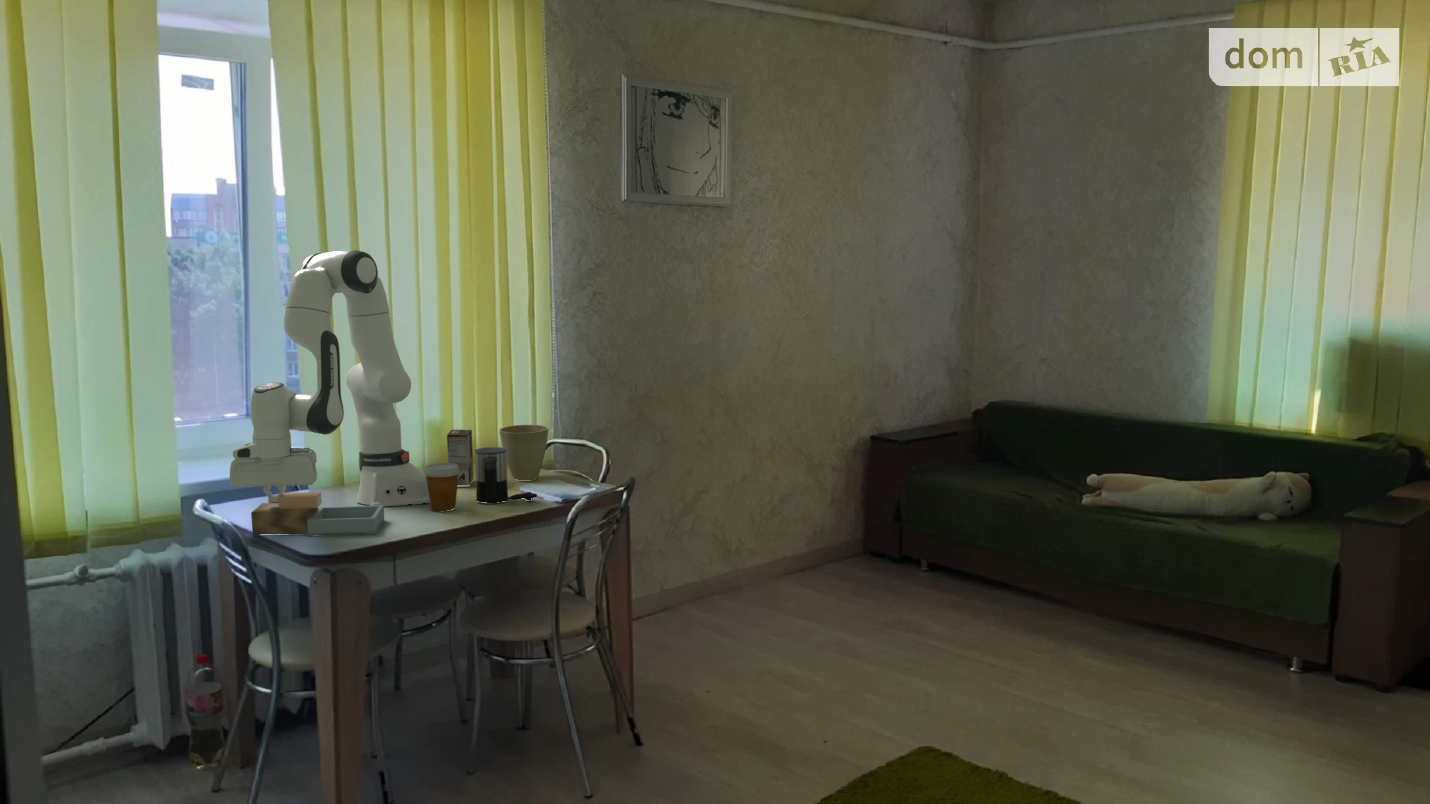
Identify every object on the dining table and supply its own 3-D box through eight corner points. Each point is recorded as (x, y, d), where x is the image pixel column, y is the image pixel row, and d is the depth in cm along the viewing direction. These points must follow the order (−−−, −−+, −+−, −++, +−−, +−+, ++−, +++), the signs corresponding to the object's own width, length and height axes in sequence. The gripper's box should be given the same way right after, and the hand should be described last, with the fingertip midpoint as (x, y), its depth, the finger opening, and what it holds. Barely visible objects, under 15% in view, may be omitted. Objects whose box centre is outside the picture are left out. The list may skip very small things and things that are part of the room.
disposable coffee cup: (467, 506, 292) (465, 463, 291) (451, 514, 283) (449, 470, 282) (435, 504, 295) (434, 462, 293) (418, 512, 285) (417, 468, 284)
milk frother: (472, 499, 301) (470, 448, 299) (526, 493, 308) (524, 443, 306) (485, 510, 288) (483, 456, 286) (540, 504, 296) (539, 451, 293)
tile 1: (303, 504, 269) (302, 492, 269) (298, 508, 264) (297, 496, 264) (284, 504, 268) (283, 493, 268) (279, 509, 263) (278, 497, 263)
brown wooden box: (318, 524, 273) (317, 501, 272) (309, 534, 263) (308, 510, 262) (263, 526, 271) (262, 503, 270) (252, 536, 261) (251, 512, 260)
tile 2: (321, 503, 270) (320, 491, 269) (317, 507, 265) (316, 496, 264) (303, 504, 269) (302, 492, 269) (298, 508, 264) (297, 496, 264)
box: (384, 520, 277) (383, 505, 277) (375, 533, 263) (374, 518, 263) (320, 522, 275) (319, 507, 274) (308, 536, 261) (307, 520, 260)
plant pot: (502, 474, 334) (501, 425, 332) (550, 473, 336) (549, 424, 334) (498, 485, 320) (497, 433, 317) (548, 484, 321) (547, 432, 319)
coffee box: (452, 481, 325) (451, 429, 323) (474, 481, 325) (472, 429, 323) (447, 487, 316) (446, 434, 314) (469, 487, 316) (468, 434, 314)
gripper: (318, 445, 268) (321, 498, 270) (233, 447, 265) (236, 501, 267) (312, 449, 262) (315, 504, 264) (225, 451, 259) (229, 507, 261)
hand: (275, 502), depth 266 cm, fingers closed
